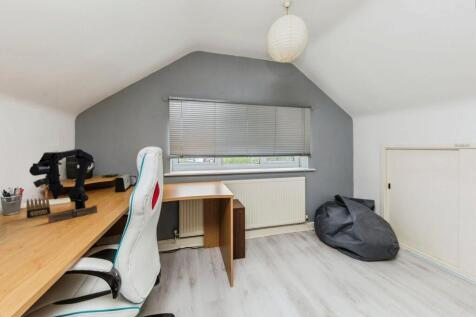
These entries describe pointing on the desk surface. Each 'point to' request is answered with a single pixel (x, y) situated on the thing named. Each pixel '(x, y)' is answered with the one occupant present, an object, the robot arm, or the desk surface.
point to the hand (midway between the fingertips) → (55, 198)
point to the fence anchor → (84, 211)
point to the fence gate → (60, 216)
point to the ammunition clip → (38, 208)
